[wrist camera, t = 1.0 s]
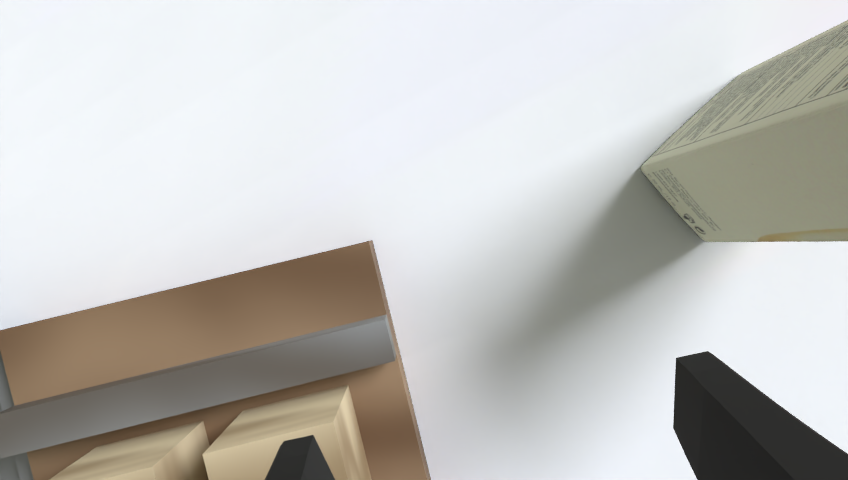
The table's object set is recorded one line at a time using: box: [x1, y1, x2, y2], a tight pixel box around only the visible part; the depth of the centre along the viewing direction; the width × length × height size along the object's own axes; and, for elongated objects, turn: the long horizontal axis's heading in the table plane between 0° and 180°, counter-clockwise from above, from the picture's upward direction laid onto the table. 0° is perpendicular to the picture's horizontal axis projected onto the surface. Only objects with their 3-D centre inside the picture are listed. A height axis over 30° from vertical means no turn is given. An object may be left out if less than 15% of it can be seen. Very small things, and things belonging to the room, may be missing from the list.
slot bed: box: [0, 241, 431, 480], centre depth 21 cm, size 14×14×3 cm
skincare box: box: [641, 20, 848, 242], centre depth 17 cm, size 6×4×12 cm
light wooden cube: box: [202, 385, 372, 480], centre depth 19 cm, size 4×4×4 cm
